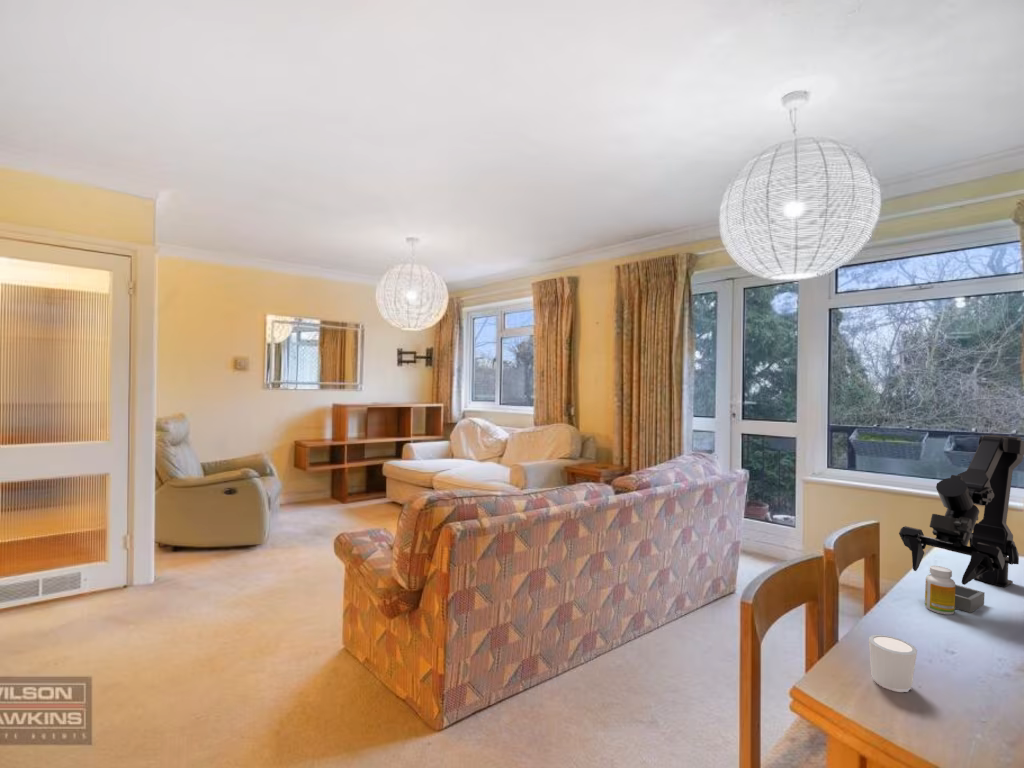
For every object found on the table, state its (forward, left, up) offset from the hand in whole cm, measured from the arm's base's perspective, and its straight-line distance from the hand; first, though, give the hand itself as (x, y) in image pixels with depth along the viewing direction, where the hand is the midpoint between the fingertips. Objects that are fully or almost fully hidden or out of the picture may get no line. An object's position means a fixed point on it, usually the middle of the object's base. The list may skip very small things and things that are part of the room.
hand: (937, 576), depth 120 cm
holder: (-10, 0, -8) cm, 13 cm away
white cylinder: (+43, +8, -8) cm, 44 cm away
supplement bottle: (-2, 0, -8) cm, 8 cm away
